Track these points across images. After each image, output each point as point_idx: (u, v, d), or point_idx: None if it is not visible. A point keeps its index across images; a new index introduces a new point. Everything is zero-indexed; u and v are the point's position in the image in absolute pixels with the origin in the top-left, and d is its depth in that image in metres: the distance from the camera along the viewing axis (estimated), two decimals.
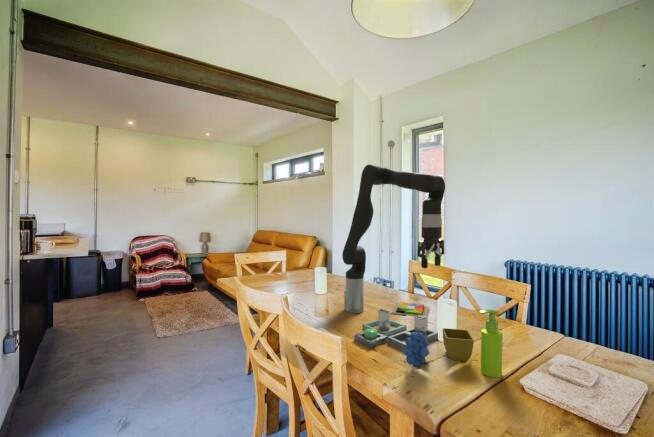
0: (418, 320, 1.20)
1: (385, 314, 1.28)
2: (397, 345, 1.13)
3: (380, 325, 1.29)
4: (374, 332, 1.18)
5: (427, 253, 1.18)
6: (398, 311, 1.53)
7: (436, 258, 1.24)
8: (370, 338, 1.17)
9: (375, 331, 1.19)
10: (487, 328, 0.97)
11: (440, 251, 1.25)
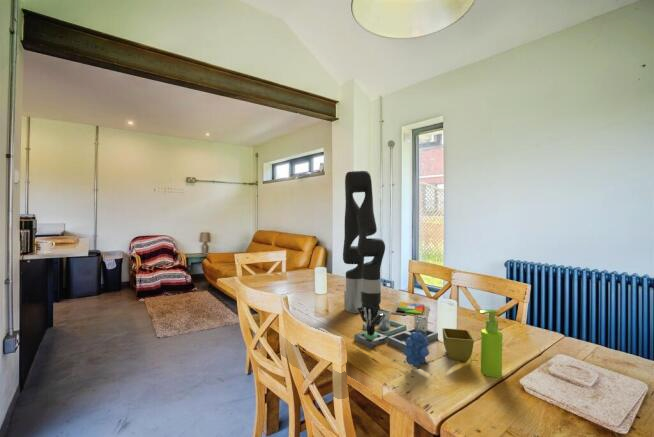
0: (418, 320, 1.20)
1: (385, 314, 1.28)
2: (397, 345, 1.13)
3: (380, 325, 1.29)
4: (374, 335, 1.18)
5: None
6: (398, 311, 1.53)
7: None
8: None
9: (375, 334, 1.19)
10: (487, 328, 0.97)
11: None
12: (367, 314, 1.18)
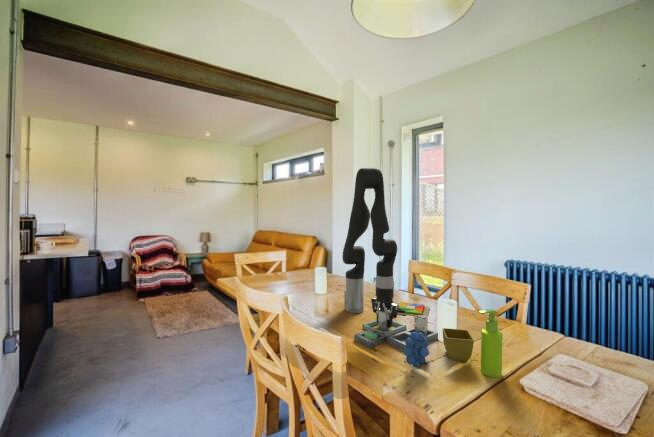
0: (418, 320, 1.20)
1: (385, 314, 1.28)
2: (397, 345, 1.13)
3: (380, 325, 1.29)
4: (374, 336, 1.18)
5: None
6: (398, 311, 1.53)
7: None
8: None
9: (375, 335, 1.19)
10: (487, 328, 0.97)
11: (376, 309, 1.35)
12: (379, 307, 1.31)
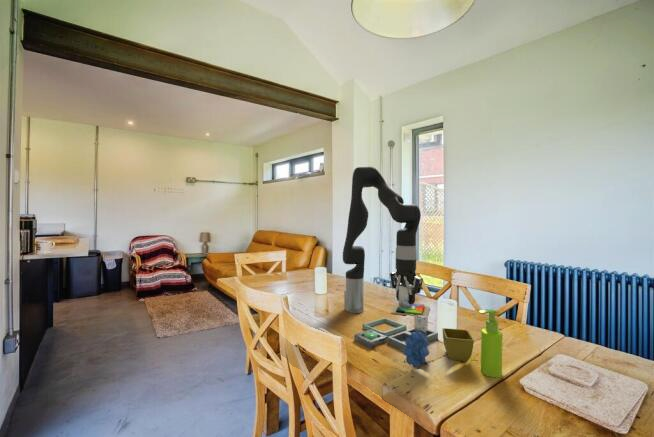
0: (418, 320, 1.20)
1: (407, 289, 1.13)
2: (397, 345, 1.13)
3: (401, 301, 1.14)
4: (374, 336, 1.18)
5: None
6: (398, 311, 1.53)
7: None
8: None
9: (375, 335, 1.19)
10: (487, 328, 0.97)
11: (395, 285, 1.19)
12: (400, 282, 1.16)
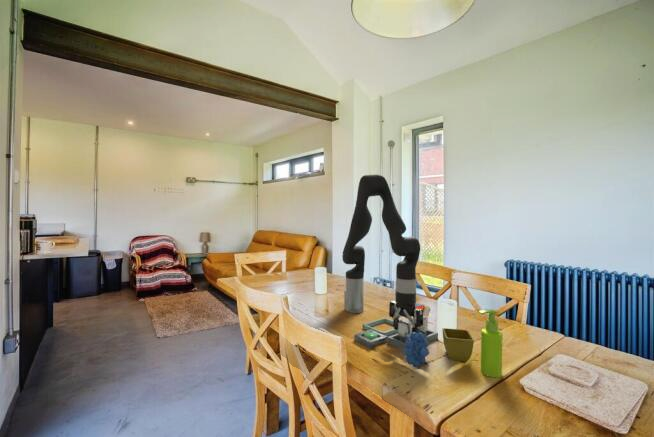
0: None
1: (406, 326, 1.14)
2: (397, 345, 1.13)
3: (400, 339, 1.15)
4: (374, 336, 1.18)
5: None
6: None
7: (396, 322, 1.19)
8: None
9: (375, 335, 1.19)
10: (487, 328, 0.97)
11: (392, 313, 1.21)
12: (398, 313, 1.17)
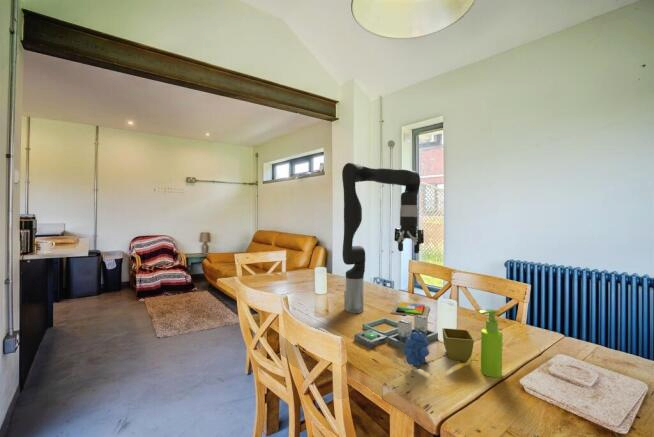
0: (418, 320, 1.20)
1: (407, 327, 1.13)
2: (397, 345, 1.13)
3: (401, 339, 1.14)
4: (374, 336, 1.18)
5: (418, 239, 1.34)
6: (398, 311, 1.53)
7: (401, 244, 1.39)
8: None
9: (375, 335, 1.19)
10: (487, 328, 0.97)
11: (397, 238, 1.41)
12: (402, 236, 1.37)
